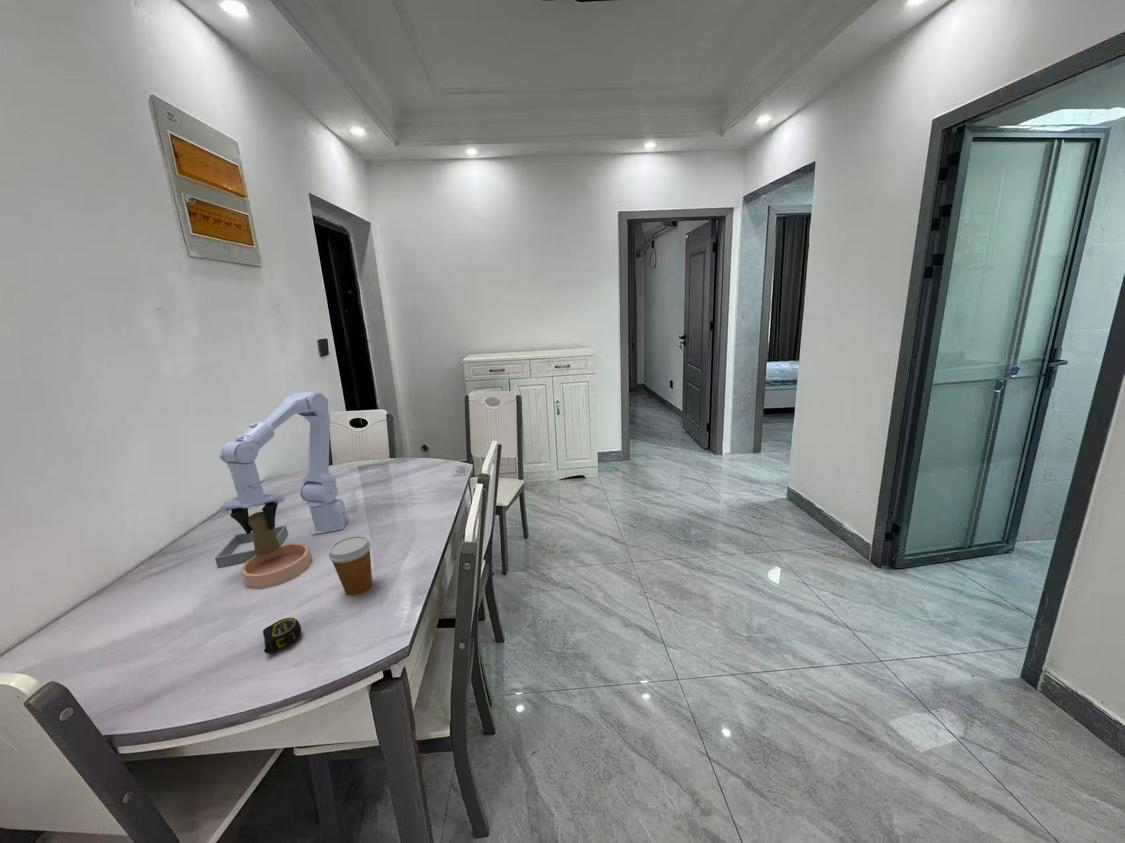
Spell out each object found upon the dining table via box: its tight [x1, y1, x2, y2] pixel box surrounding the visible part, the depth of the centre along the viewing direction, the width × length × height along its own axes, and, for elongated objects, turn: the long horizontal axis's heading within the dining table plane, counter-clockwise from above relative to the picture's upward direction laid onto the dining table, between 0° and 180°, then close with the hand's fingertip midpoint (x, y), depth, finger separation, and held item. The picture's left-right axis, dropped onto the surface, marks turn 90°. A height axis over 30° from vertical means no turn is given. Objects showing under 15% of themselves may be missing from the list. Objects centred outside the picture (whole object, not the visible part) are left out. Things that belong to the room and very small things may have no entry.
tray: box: [214, 525, 289, 568], centre depth 137 cm, size 14×14×3 cm
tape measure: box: [262, 617, 302, 655], centre depth 96 cm, size 7×7×4 cm
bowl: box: [240, 542, 313, 589], centre depth 124 cm, size 16×16×4 cm
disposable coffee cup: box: [327, 535, 373, 597], centre depth 112 cm, size 10×10×12 cm
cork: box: [248, 511, 280, 555], centre depth 126 cm, size 6×6×11 cm
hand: (261, 530), depth 126 cm, fingers closed on cork, 5 cm apart
